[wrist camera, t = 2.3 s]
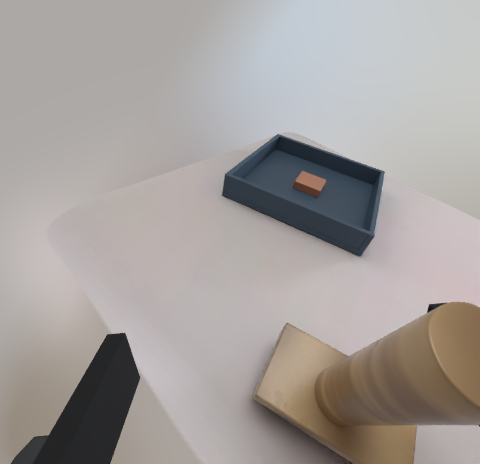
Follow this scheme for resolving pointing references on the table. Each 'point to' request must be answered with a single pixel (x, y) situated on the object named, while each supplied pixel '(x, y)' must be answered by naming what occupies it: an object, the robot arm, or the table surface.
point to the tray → (305, 205)
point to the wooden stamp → (379, 385)
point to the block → (309, 184)
